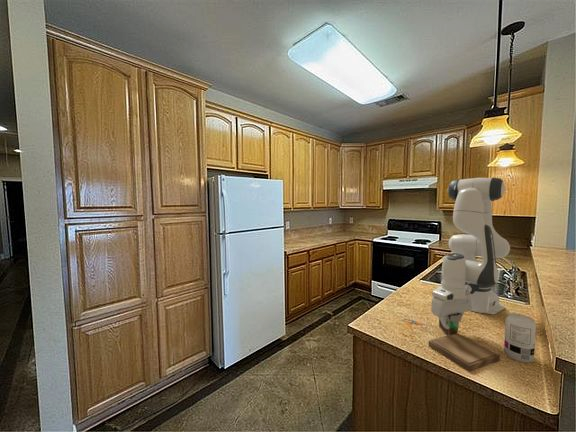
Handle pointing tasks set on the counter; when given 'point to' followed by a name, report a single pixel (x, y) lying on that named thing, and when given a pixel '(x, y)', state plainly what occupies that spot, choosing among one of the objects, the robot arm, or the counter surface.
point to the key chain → (416, 324)
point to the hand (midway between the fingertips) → (451, 322)
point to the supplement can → (520, 337)
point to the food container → (450, 324)
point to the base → (464, 351)
